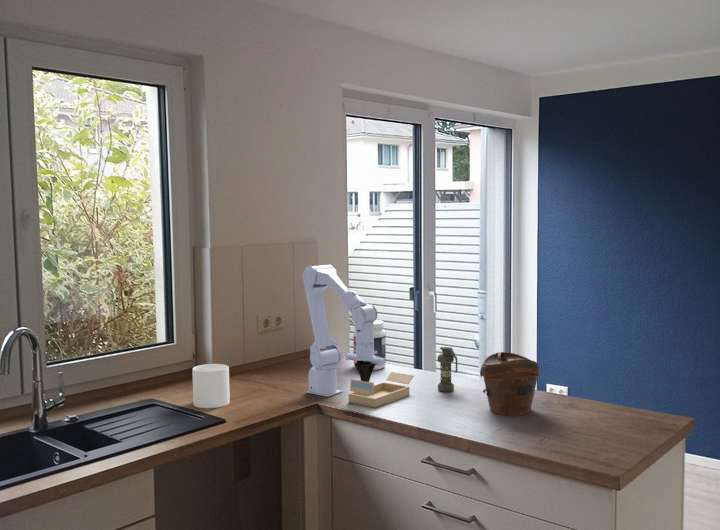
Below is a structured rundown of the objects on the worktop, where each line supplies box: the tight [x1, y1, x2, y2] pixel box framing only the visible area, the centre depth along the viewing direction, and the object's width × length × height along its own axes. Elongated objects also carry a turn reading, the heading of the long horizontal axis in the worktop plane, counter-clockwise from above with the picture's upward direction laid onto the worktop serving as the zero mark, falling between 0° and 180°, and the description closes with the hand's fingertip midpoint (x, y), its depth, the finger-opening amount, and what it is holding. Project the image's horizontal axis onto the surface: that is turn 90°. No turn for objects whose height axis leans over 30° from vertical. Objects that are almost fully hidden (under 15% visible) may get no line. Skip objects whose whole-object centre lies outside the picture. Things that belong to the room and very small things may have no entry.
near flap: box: [349, 378, 375, 395], centre depth 232 cm, size 9×4×1 cm
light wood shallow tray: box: [348, 381, 410, 409], centre depth 240 cm, size 11×19×3 cm, turn 142°
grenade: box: [437, 346, 458, 393], centre depth 249 cm, size 6×6×15 cm
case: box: [479, 351, 542, 417], centre depth 225 cm, size 18×20×18 cm
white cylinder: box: [191, 363, 231, 409], centre depth 237 cm, size 12×12×12 cm
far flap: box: [385, 371, 415, 385], centre depth 249 cm, size 9×4×1 cm
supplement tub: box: [352, 319, 387, 371], centre depth 287 cm, size 13×13×18 cm
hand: (365, 384), depth 234 cm, fingers closed
